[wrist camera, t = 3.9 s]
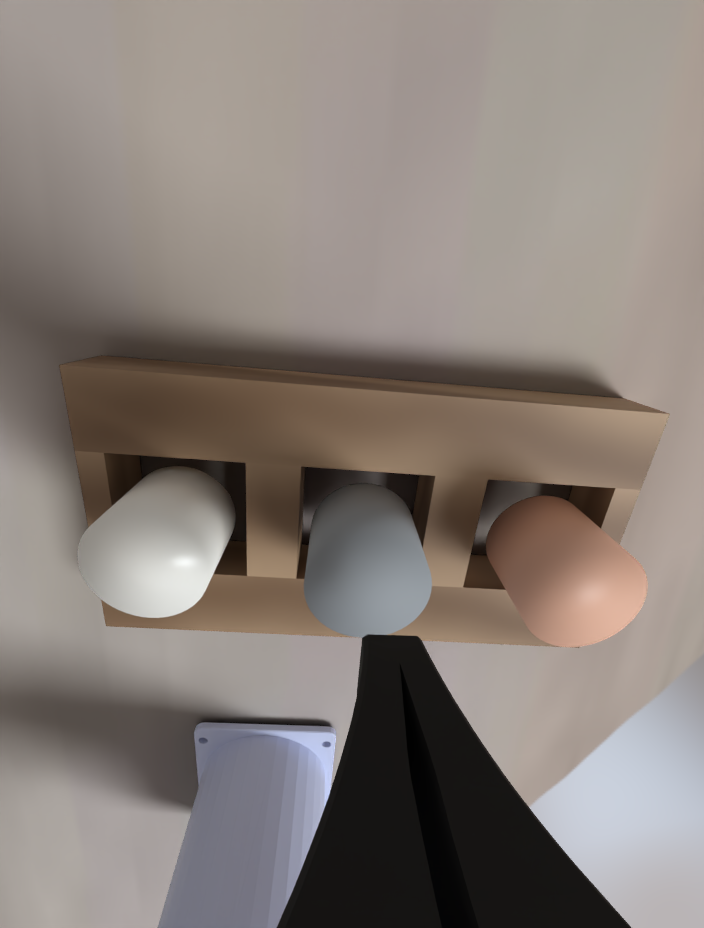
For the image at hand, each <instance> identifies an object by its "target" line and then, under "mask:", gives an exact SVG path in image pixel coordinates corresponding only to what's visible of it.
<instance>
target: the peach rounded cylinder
mask: <svg viewBox="0 0 704 928" xmlns="http://www.w3.org/2000/svg"><path fill="white" fill-rule="evenodd" d="M486 552H487V556H488V559H489V561H490V563H491V565H492V567H493V568H494V570H495V572H496V574H497V575H498V577H499V579H500V581H501V582H502V584H503V586H504V588H505V589H506V591H507V593H508V595H509V596H510V598H511V600H512V602H513V603H514V605H515V607H516V609H517V610H518V612H519V614H520V616H521V617H522V619H523V621H524V623H525V624H526V626H527V628H528V629H529V630H530V632H531V633H532V634H533V635H534V636H536V637H537V638H539V639H540V640H542V641H544V642H546V643H549V644H552V645H556V646H561V647H579V646H586V645H590V644H594V643H597V642H600V641H602V640H605V639H607V638H609V637H611V636H613V635H614V634H616V633H617V632H619V631H620V630H622V629H623V628H624V627H626V626H627V625H628V624H629V623H630V622H631V621H632V620H633V619H634V617H635V616H636V615H637V614H638V612H639V611H640V609H641V607H642V605H643V603H644V601H645V598H646V594H647V587H648V583H647V576H646V573H645V571H644V569H643V567H642V565H641V564H640V563H639V562H638V561H637V560H636V559H635V558H634V557H633V556H632V555H630V554H629V553H628V552H627V551H626V550H625V549H624V548H622V547H621V546H620V545H619V544H618V543H617V542H616V541H614V540H613V539H612V538H611V537H610V536H609V535H608V534H606V533H605V532H604V531H603V530H602V529H601V528H599V527H598V526H597V525H596V524H595V523H594V522H593V521H591V520H590V519H589V518H588V517H587V516H586V515H585V514H583V513H582V512H581V511H580V510H579V509H578V508H577V507H575V506H574V505H573V504H572V503H570V502H569V501H567V500H565V499H562V498H559V497H555V496H535V497H530V498H527V499H524V500H521V501H519V502H517V503H515V504H513V505H512V506H510V507H509V508H507V509H506V510H505V511H503V512H502V513H501V514H500V515H499V516H498V518H497V519H496V520H495V521H494V523H493V524H492V526H491V528H490V530H489V533H488V536H487V540H486Z"/></svg>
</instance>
